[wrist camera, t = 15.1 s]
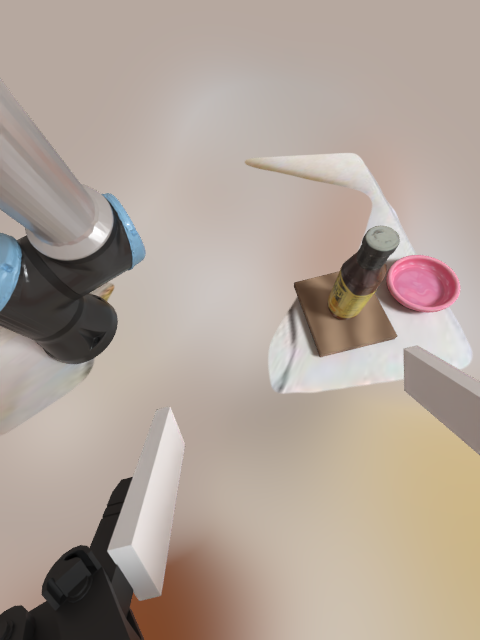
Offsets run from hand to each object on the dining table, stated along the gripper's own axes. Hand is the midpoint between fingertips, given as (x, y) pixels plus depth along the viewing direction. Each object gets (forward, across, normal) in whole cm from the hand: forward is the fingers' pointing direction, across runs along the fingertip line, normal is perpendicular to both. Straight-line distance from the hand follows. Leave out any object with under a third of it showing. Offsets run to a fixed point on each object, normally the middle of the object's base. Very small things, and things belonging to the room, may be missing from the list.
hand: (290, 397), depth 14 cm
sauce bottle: (+35, +18, -10) cm, 40 cm away
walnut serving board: (+36, +18, -11) cm, 41 cm away
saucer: (+36, +34, -10) cm, 51 cm away
